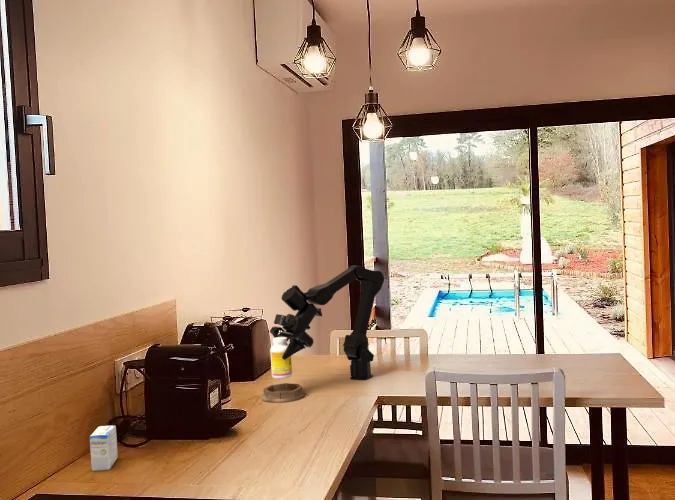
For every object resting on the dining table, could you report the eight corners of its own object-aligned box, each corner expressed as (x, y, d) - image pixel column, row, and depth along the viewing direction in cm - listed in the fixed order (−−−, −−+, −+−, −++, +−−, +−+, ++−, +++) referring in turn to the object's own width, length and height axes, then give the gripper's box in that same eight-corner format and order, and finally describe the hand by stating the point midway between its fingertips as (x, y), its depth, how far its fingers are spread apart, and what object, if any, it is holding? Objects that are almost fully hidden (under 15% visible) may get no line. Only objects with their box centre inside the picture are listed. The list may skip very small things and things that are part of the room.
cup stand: (312, 392, 225) (311, 383, 225) (291, 404, 212) (291, 394, 212) (275, 390, 231) (275, 381, 231) (253, 401, 218) (253, 392, 218)
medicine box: (100, 460, 170) (97, 426, 170) (118, 458, 170) (115, 424, 170) (91, 471, 162) (88, 435, 162) (110, 469, 163) (107, 434, 162)
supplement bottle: (293, 378, 219) (290, 339, 218) (272, 380, 218) (270, 340, 217) (291, 373, 225) (288, 335, 225) (271, 375, 224) (269, 337, 224)
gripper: (272, 302, 230) (246, 340, 224) (303, 306, 215) (276, 346, 209) (293, 322, 235) (268, 359, 229) (324, 327, 221) (299, 366, 214)
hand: (277, 357), depth 220 cm, fingers closed on supplement bottle, 6 cm apart
